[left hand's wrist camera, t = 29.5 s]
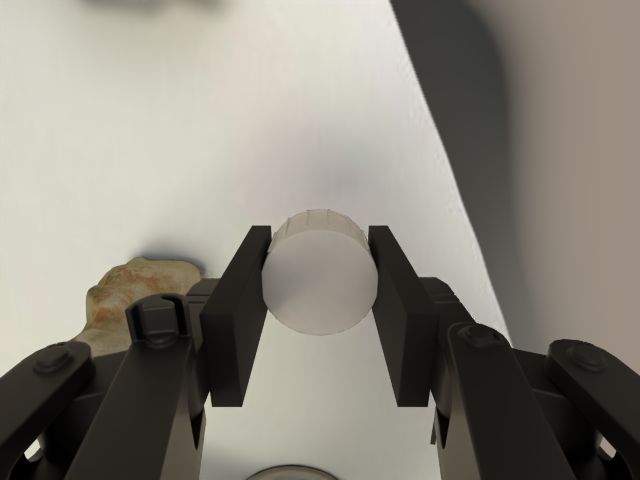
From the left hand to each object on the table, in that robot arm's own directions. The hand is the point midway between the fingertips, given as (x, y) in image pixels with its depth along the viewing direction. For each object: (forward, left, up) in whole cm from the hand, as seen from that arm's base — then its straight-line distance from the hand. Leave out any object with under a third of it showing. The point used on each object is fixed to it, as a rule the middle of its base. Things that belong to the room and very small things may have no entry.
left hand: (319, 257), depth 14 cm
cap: (0, 0, +2) cm, 2 cm away
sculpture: (-1, +17, -17) cm, 24 cm away
